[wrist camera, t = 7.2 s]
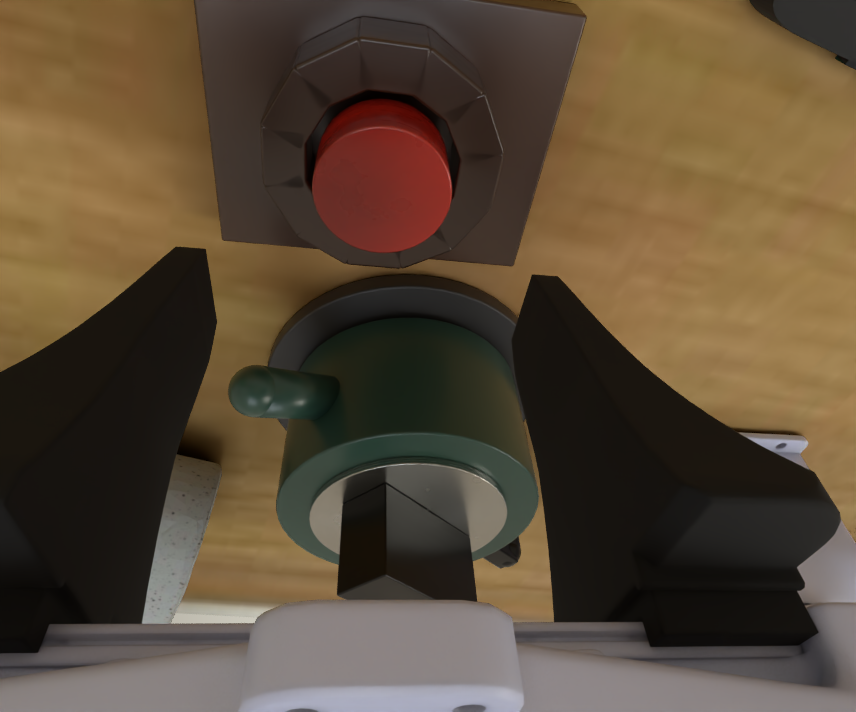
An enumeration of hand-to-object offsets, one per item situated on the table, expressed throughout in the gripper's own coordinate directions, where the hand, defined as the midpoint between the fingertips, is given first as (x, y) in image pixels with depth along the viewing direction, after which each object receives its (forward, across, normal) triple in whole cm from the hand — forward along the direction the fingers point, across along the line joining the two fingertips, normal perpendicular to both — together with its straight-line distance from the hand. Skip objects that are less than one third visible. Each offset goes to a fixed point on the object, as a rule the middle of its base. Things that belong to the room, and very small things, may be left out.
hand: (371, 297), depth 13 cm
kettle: (+6, -2, +11) cm, 12 cm away
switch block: (+8, 0, -1) cm, 8 cm away
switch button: (+5, 0, -1) cm, 5 cm away
